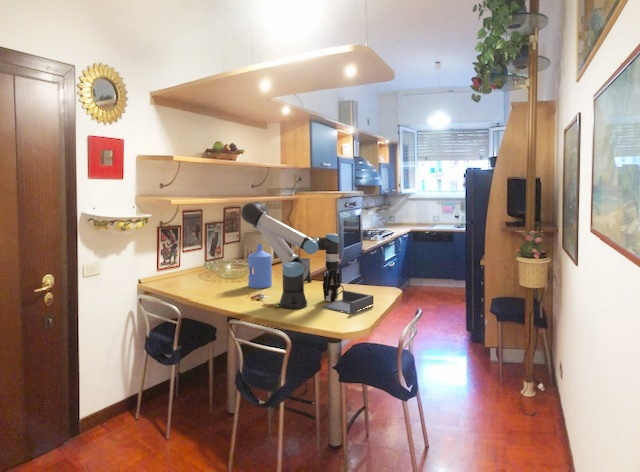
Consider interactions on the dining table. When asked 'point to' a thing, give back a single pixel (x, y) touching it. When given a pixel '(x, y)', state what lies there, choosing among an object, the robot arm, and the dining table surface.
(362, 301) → the corner arena
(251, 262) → the water jug
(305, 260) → the milk frother
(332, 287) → the coffee mug
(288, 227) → the robot arm
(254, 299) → the dining table surface
